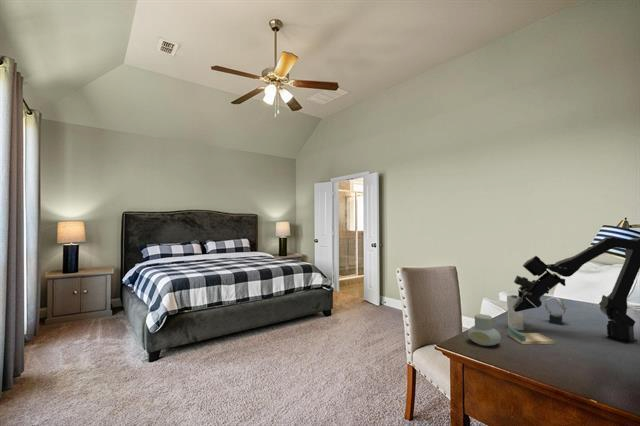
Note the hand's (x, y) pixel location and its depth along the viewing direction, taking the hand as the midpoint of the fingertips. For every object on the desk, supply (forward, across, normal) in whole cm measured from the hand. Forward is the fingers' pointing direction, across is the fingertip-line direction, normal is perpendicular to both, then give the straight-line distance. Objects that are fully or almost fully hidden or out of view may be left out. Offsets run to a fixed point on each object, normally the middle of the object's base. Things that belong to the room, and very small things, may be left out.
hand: (513, 308), depth 132 cm
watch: (-7, -16, +18) cm, 25 cm away
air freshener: (+15, +25, -2) cm, 29 cm away
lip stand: (+3, +14, +8) cm, 17 cm away
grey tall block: (+5, 0, +6) cm, 8 cm away
